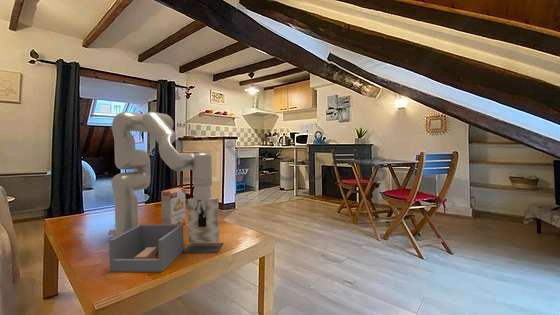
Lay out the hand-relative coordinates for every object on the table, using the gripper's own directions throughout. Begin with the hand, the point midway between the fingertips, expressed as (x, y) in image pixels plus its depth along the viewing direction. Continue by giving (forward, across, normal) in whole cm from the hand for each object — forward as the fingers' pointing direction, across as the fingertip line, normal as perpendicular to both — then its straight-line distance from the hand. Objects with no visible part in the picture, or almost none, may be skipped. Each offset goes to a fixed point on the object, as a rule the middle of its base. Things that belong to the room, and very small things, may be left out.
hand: (203, 225), depth 111 cm
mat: (+10, 0, 0) cm, 10 cm away
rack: (+10, +12, -17) cm, 23 cm away
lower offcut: (+11, +15, -17) cm, 25 cm away
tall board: (+7, 0, 0) cm, 7 cm away
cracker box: (+10, -31, -26) cm, 42 cm away
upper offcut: (+8, +15, -17) cm, 24 cm away
